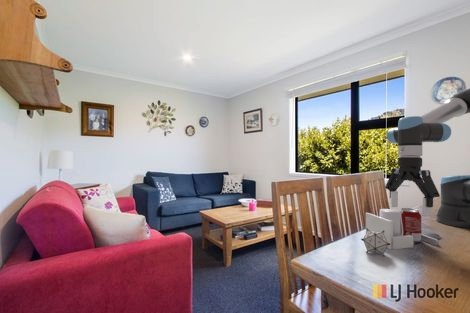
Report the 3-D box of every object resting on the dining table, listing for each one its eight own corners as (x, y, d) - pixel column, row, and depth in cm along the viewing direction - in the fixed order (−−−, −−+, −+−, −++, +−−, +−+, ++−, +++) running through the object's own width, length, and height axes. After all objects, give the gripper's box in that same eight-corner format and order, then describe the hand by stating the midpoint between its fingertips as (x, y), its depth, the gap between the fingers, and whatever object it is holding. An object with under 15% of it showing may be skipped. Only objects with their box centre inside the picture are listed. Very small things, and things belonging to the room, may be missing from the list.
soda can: (425, 244, 82) (425, 212, 82) (405, 243, 84) (405, 211, 84) (414, 237, 89) (414, 208, 89) (396, 236, 90) (395, 207, 90)
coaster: (423, 230, 97) (423, 229, 97) (446, 238, 88) (446, 236, 88) (405, 232, 95) (405, 230, 95) (426, 239, 86) (426, 238, 86)
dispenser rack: (408, 233, 93) (408, 205, 93) (438, 245, 81) (438, 212, 81) (365, 237, 90) (365, 207, 90) (390, 249, 78) (390, 216, 78)
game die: (378, 267, 74) (378, 250, 68) (355, 249, 81) (354, 232, 75) (396, 251, 76) (397, 233, 70) (372, 234, 83) (372, 217, 77)
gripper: (376, 156, 98) (375, 204, 98) (435, 157, 73) (434, 220, 73) (390, 156, 99) (390, 203, 99) (454, 157, 74) (453, 219, 74)
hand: (409, 211), depth 86 cm, fingers open, 13 cm apart
